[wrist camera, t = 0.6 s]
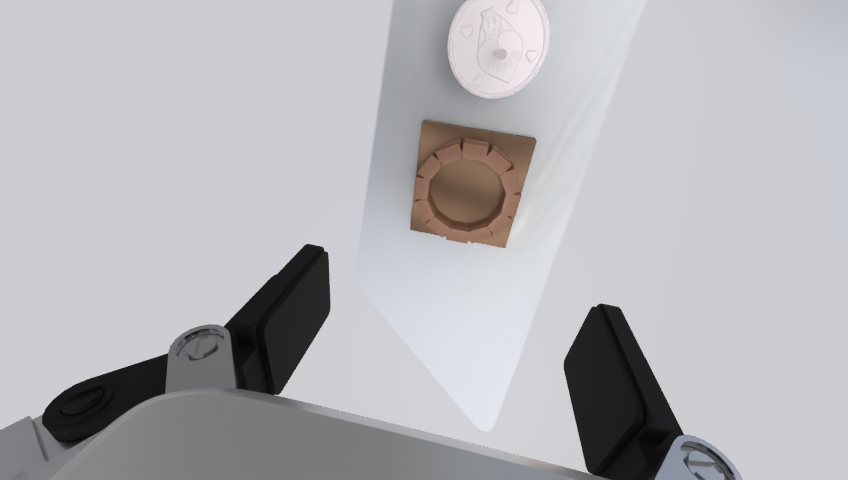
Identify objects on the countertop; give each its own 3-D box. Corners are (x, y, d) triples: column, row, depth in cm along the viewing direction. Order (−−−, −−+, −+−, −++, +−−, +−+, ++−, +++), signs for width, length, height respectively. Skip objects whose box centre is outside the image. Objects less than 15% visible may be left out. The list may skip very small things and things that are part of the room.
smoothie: (473, 99, 31) (462, 127, 19) (447, 26, 29) (416, 6, 17) (542, 68, 29) (578, 78, 17) (521, -14, 26) (546, -71, 14)
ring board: (424, 120, 33) (418, 126, 30) (535, 138, 32) (539, 146, 29) (412, 225, 39) (406, 238, 36) (504, 242, 38) (505, 257, 35)
